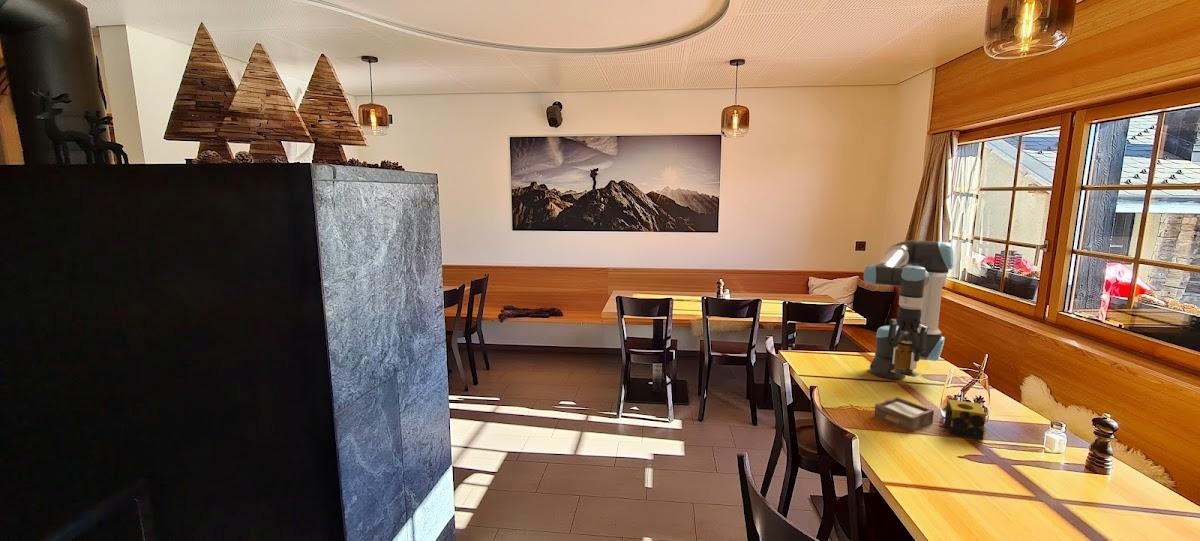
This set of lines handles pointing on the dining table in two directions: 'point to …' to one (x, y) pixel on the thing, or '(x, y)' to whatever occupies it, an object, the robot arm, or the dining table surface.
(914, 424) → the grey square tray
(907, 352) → the condiment
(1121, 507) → the dining table surface
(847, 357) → the dining table surface
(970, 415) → the yellow black cube
